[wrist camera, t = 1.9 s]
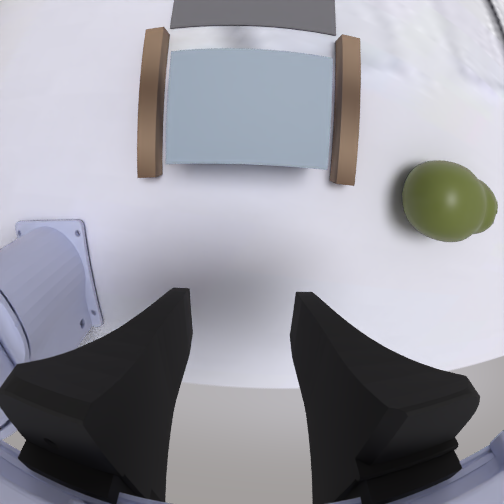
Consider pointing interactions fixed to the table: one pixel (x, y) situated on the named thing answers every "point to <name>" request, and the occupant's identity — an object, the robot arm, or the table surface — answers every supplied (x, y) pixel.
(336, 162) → the chute
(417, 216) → the pear
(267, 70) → the block
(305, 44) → the table surface
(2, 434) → the robot arm
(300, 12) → the mat
